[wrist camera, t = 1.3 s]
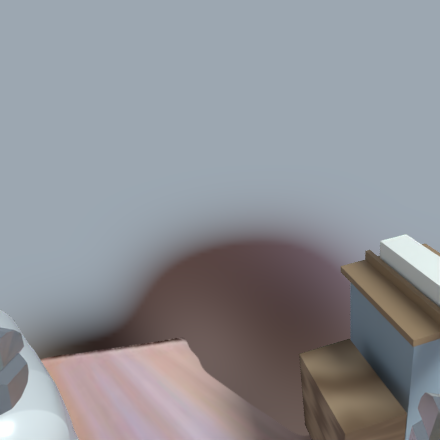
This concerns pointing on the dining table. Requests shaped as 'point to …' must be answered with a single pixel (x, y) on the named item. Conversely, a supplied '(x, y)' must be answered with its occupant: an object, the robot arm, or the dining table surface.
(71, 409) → the dining table surface
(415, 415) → the cabinet
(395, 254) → the white beam
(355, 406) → the walnut block
